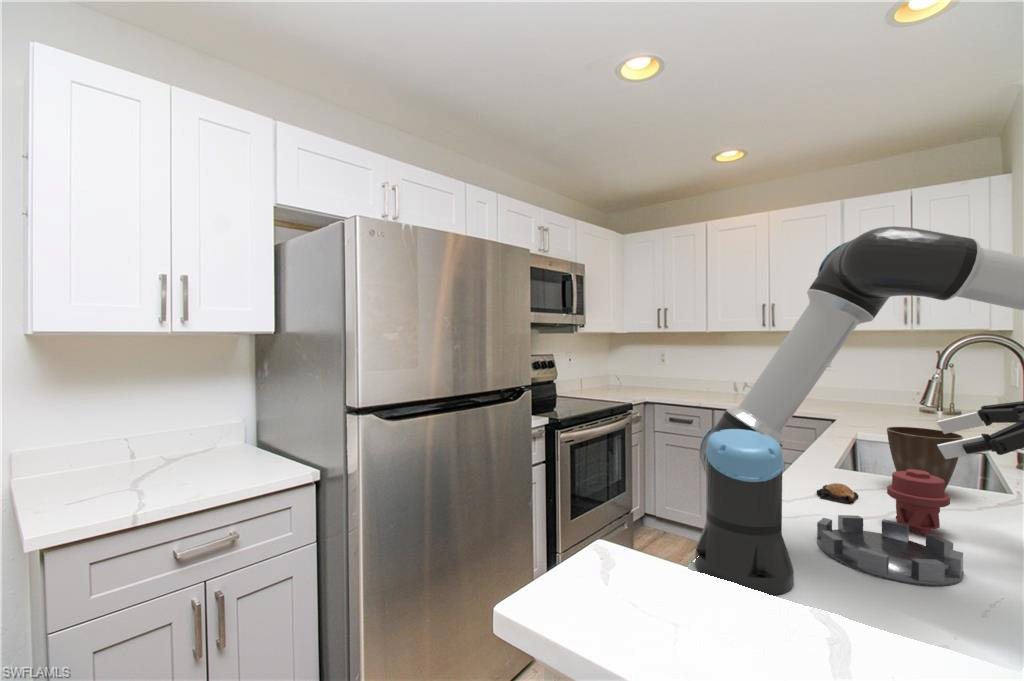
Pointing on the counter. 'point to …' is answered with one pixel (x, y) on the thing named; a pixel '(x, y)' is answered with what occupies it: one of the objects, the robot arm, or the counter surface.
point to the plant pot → (921, 450)
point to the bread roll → (837, 494)
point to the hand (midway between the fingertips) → (940, 439)
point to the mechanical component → (918, 499)
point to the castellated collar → (891, 552)
